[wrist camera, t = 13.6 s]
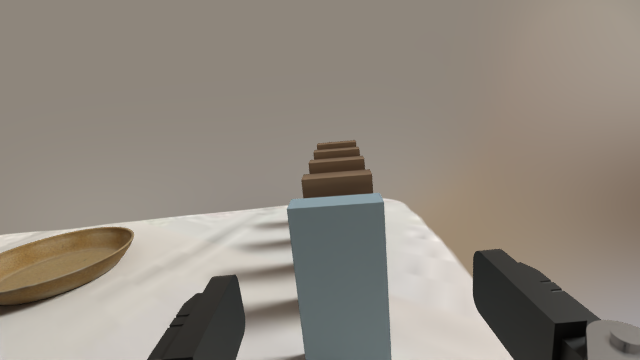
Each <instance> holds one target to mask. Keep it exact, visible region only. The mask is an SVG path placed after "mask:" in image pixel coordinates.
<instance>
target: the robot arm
mask: <svg viewBox="0 0 640 360" xmlns="http://www.w3.org/2000/svg"><path fill="white" fill-rule="evenodd" d="M473 298H474V302H475V305H476V308H477V310H478V312H479V313H480V315H481V316H482V317H483V319H484V320H485V321H486V323H487V324H488V325H489V327H490V328H491V329H492V331H493V332H494V333H495V335H496V336H497V337H498V339H499V340H500V341H501V343H502V344H503V345H504V347H505V348H506V349H507V351H508V352H509V354H510V355H511V356H512V358H513V359H514V360H640V328H638V327H636V326H633V325H630V324H626V323H623V322H618V321H611V320H601V319H599V318H598V317H597V316H596V315H594V314H593V313H592V312H590V311H589V310H588V309H587V308H585V307H584V306H583V305H582V304H580V303H579V302H578V301H577V300H575V299H574V298H573V297H571V296H570V295H569V294H568V293H566V292H565V291H562V289H561V288H560V287H559V286H557V285H556V284H555V283H554V282H551V280H550V279H548V278H547V277H546V276H544V275H543V274H542V273H541V272H540V271H538V270H536V269H534V268H532V267H530V266H528V265H525V264H523V263H521V262H520V263H517V262H516V261H515V260H514V259H513V258H511V257H510V256H509V255H507V253H505V252H504V251H503V250H501V249H494V250H483V251H476V252H475V254H474V257H473ZM244 331H245V314H244V308H243V303H242V298H241V293H240V287H239V282H238V278H237V276H236V275H227V276H216V277H212V278H211V280H210V281H209V283H208V285H207V286H206V288H205V290H204V291H203V293H197V294H195V295H194V296H193V297H192V298H190V299H189V300H188V301H187V302H186V303H184V304H183V306H182V308H181V309H180V311H179V312H178V314H177V315H176V318H174V320H173V321H172V323H171V324H170V328H168V329H167V330H166V332H165V333H164V335H163V336H162V338H161V339H160V341H159V342H158V344H157V345H156V347H155V348H154V350H153V351H152V353H151V354H150V356H149V357H148V359H147V360H236V357H237V354H238V351H239V348H240V345H241V341H242V338H243V335H244Z"/></svg>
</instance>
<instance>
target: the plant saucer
mask: <svg viewBox="0 0 640 360" xmlns="http://www.w3.org/2000/svg"><path fill="white" fill-rule="evenodd" d="M133 238H134V232H133V231H132V230H130V229H128V228H122V227H101V228H93V229H85V230H79V231H74V232H69V233H65V234H61V235H56V236H53V237H49V238H45V239H42V240H38V241H35V242H31V243H28V244H25V245H22V246H19V247H16V248H13V249H11V250H8V251H5V252H2V253H0V305H16V304H23V303H28V302H33V301H38V300H42V299H45V298H49V297H52V296H55V295H58V294H61V293H64V292H67V291H70V290H72V289H75V288H77V287H79V286H82V285H84V284H86V283H88V282H90V281H92V280H94V279H96V278H98V277H99V276H101V275H103V274H104V273H106V272H107V271H109V270H110V269H111V268H113V267H114V266H115V265H116V264H117V263H118V261H119V260H120V259H121V258H122V256H123V255H124V254H125V252H126V251H127V249H128V248H129V246H130V244H131V242H132V240H133Z"/></svg>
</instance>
